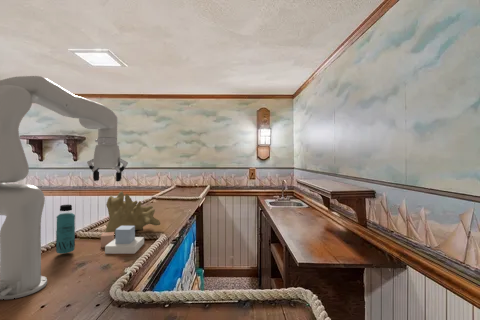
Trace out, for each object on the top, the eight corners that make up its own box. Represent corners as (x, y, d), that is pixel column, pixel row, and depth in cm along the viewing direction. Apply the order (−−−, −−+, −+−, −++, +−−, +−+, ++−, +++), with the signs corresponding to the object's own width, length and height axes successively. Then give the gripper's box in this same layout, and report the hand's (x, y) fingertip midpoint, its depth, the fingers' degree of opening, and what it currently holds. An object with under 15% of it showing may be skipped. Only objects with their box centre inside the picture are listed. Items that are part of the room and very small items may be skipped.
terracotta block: (113, 246, 118) (113, 235, 118) (100, 247, 116) (100, 236, 116) (114, 242, 122) (114, 231, 122) (102, 243, 121) (102, 232, 120)
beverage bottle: (52, 255, 106) (52, 205, 106) (69, 250, 112) (69, 202, 111) (61, 258, 103) (61, 207, 103) (78, 253, 109) (78, 204, 108)
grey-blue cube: (129, 243, 113) (130, 229, 112) (115, 243, 112) (115, 229, 112) (134, 239, 119) (134, 225, 118) (121, 239, 118) (121, 225, 118)
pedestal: (134, 253, 110) (134, 246, 110) (104, 253, 109) (105, 246, 109) (144, 243, 122) (144, 237, 122) (117, 243, 121) (117, 236, 121)
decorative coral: (81, 211, 131) (122, 177, 145) (104, 236, 145) (139, 203, 159) (111, 233, 118) (153, 193, 131) (133, 257, 132) (168, 219, 146)
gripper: (83, 141, 114) (82, 181, 114) (123, 142, 114) (123, 182, 114) (92, 142, 121) (92, 179, 122) (130, 142, 121) (130, 180, 122)
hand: (107, 180), depth 118 cm, fingers open, 9 cm apart
